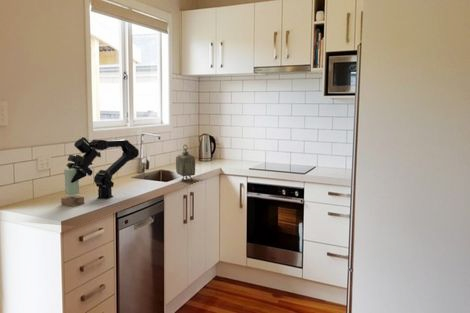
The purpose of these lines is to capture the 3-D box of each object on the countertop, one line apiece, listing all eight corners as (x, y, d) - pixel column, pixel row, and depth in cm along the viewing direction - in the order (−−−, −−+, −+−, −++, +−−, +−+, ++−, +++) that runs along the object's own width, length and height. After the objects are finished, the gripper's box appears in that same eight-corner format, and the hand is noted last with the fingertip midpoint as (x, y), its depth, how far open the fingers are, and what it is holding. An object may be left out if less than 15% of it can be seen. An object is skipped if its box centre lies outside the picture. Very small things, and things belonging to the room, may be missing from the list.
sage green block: (74, 192, 212) (73, 168, 210) (79, 193, 209) (77, 169, 207) (65, 193, 208) (64, 169, 206) (69, 195, 205) (68, 170, 203)
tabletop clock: (195, 181, 272) (194, 145, 269) (183, 182, 268) (182, 145, 264) (187, 178, 284) (187, 143, 281) (175, 179, 280) (175, 144, 277)
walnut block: (74, 202, 215) (74, 195, 214) (84, 204, 210) (83, 196, 210) (61, 205, 208) (61, 198, 207) (71, 207, 204) (70, 199, 203)
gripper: (68, 147, 214) (49, 170, 208) (85, 150, 202) (65, 174, 195) (83, 160, 221) (65, 182, 215) (100, 163, 209) (82, 187, 202)
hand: (69, 181), depth 207 cm, fingers closed on sage green block, 5 cm apart
